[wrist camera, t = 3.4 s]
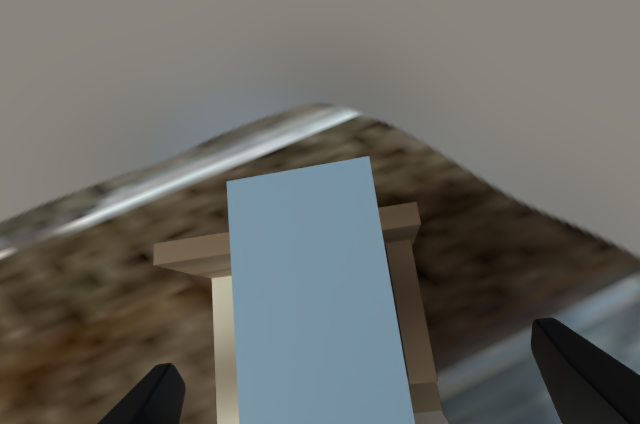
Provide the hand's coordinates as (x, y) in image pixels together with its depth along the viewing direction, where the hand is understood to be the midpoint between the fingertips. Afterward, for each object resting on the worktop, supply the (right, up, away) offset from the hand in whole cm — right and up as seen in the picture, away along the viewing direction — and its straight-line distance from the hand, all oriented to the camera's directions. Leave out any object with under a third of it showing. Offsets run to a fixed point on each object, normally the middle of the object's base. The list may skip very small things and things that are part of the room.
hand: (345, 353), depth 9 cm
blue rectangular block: (+1, -1, +8) cm, 8 cm away
